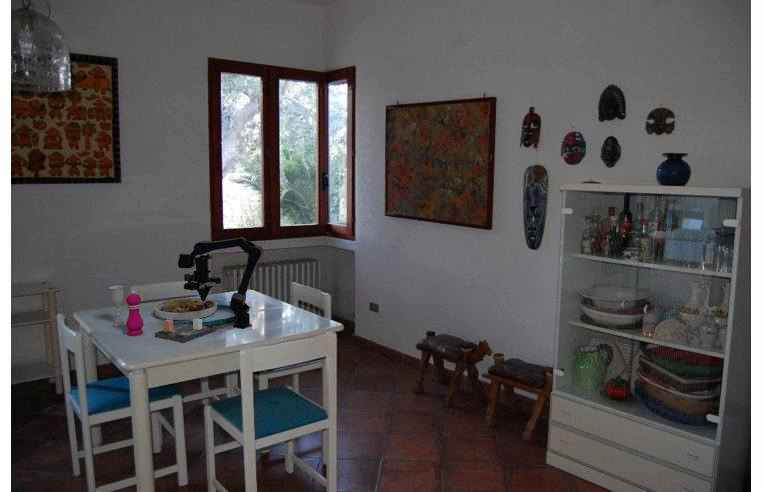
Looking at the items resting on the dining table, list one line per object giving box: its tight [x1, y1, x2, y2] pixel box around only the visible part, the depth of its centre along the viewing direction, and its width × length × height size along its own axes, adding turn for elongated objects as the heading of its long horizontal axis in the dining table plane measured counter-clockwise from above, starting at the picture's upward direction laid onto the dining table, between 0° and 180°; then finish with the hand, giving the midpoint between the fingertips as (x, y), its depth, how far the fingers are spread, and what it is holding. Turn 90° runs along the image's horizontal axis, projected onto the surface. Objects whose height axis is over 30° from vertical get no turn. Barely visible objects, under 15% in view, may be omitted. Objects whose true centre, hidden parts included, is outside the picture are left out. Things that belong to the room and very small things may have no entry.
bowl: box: [153, 297, 218, 321], centre depth 295 cm, size 30×30×8 cm
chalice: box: [108, 285, 125, 327], centre depth 274 cm, size 7×7×18 cm
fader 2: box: [192, 318, 203, 330], centre depth 261 cm, size 3×2×4 cm
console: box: [154, 320, 217, 344], centre depth 262 cm, size 17×20×3 cm
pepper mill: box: [125, 290, 145, 337], centre depth 260 cm, size 7×7×20 cm
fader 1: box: [163, 319, 174, 331], centre depth 258 cm, size 3×2×4 cm
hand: (203, 301), depth 273 cm, fingers closed
